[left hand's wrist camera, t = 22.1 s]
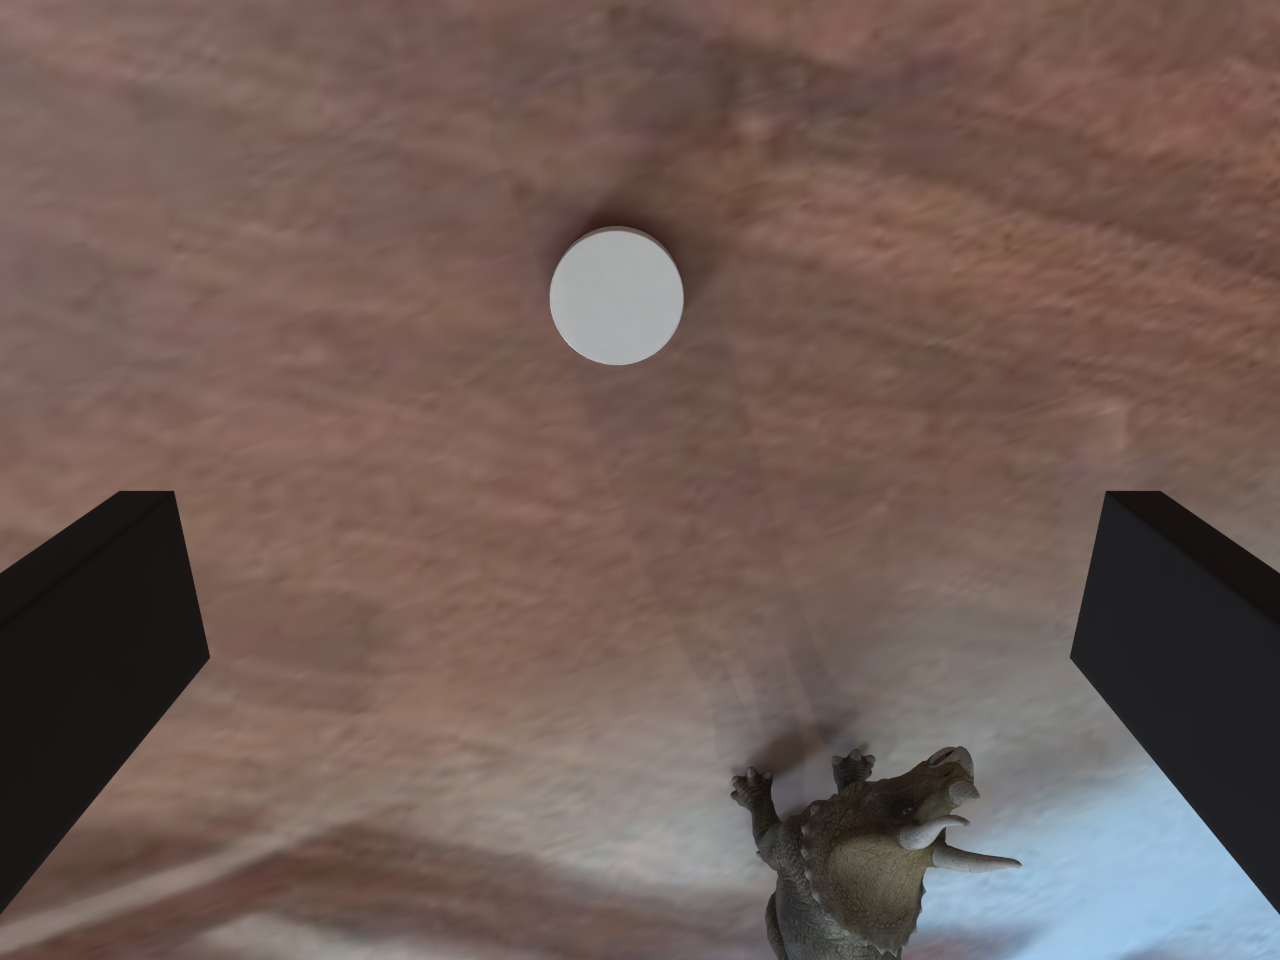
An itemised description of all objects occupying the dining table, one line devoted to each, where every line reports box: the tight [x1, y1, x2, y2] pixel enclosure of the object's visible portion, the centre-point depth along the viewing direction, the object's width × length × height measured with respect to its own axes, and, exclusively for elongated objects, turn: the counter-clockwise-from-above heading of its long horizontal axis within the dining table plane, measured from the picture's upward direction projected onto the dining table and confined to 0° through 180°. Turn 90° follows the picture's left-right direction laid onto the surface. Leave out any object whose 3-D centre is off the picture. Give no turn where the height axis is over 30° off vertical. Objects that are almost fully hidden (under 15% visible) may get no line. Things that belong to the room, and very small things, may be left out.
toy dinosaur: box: [731, 746, 1022, 960], centre depth 38 cm, size 22×8×11 cm, turn 179°
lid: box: [550, 226, 684, 365], centre depth 33 cm, size 5×5×2 cm
